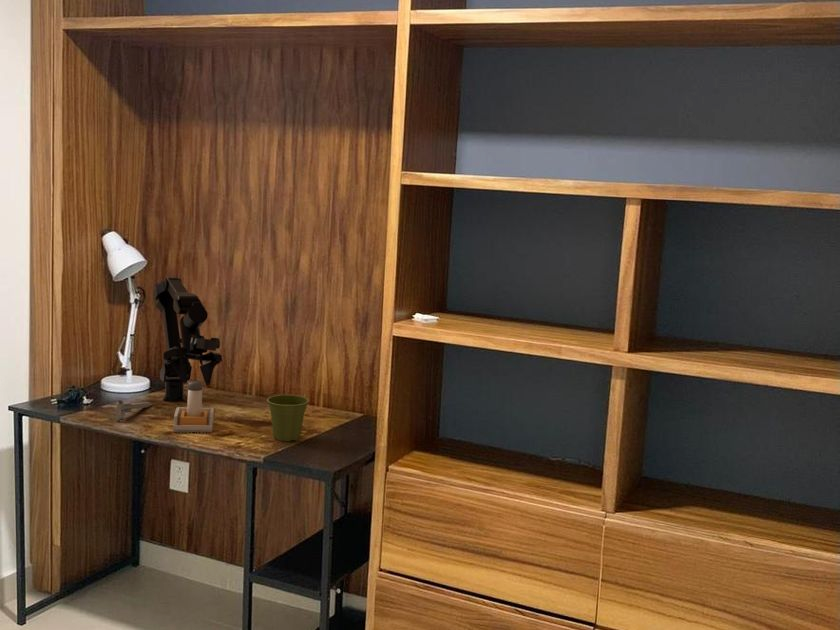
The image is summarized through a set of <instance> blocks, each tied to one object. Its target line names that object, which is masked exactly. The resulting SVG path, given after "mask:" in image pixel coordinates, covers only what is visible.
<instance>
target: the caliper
mask: <svg viewBox="0 0 840 630" xmlns="http://www.w3.org/2000/svg"><path fill="white" fill-rule="evenodd" d="M152 405H153V403H151V402H149V401H148V402H136V403H135V402H134V403H133V402H125V400H124V399H118V402H117V405H116V408H115V409H116V410H115V420H117V422H120V421H123V420H124V419H125V413H131V411H132V410H135V409H143V408H144V409H145V408H149V407H151V406H152ZM120 419H121V420H120ZM122 419H123V420H122Z"/></svg>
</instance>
